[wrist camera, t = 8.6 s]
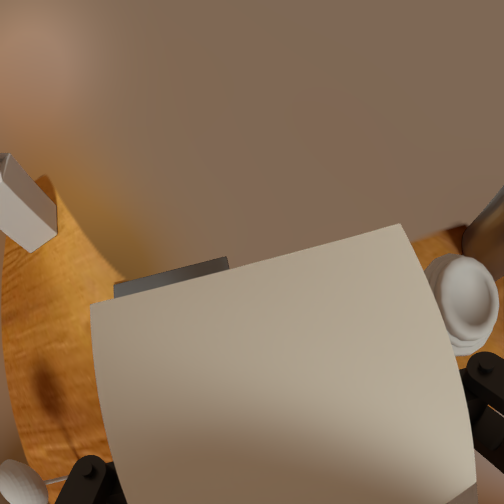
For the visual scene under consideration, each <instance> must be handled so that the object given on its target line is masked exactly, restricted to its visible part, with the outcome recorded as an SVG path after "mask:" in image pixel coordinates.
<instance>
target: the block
mask: <svg viewBox="0 0 504 504" xmlns="http://www.w3.org/2000/svg"><path fill="white" fill-rule="evenodd" d="M90 317H91V335H92V348H93V358H94V367H95V375H96V382H97V389H98V395H99V401H100V406H101V412H102V417H103V422H104V426H105V431H106V435H107V439H108V443H109V447H110V451H111V454H112V458H113V462H114V465H115V468H116V472H117V475H118V478H119V481H120V484H121V487H122V490H123V492H124V495H125V498H126V501H127V503H128V504H446V503H448V502H449V501H451V500H452V499H454V498H455V497H457V496H458V495H460V494H461V493H462V492H464V491H465V490H466V489H468V488H469V487H470V486H472V485H473V484H474V483H476V468H475V456H474V446H473V438H472V431H471V425H470V419H469V413H468V408H467V403H466V398H465V393H464V389H463V385H462V381H461V377H460V373H459V369H458V365H457V362H456V358H455V355H454V352H453V348H452V345H451V342H450V339H449V336H448V333H447V330H446V327H445V324H444V321H443V318H442V316H441V313H440V310H439V308H438V305H437V302H436V300H435V297H434V295H433V292H432V290H431V288H430V285H429V283H428V280H427V278H426V276H425V274H424V271H423V269H422V267H421V265H420V263H419V260H418V258H417V256H416V254H415V252H414V250H413V248H412V246H411V244H410V242H409V240H408V238H407V236H406V234H405V232H404V230H403V228H402V226H401V224H400V223H399V224H396V225H392V226H388V227H385V228H381V229H378V230H374V231H370V232H367V233H363V234H360V235H356V236H353V237H349V238H345V239H342V240H338V241H334V242H331V243H327V244H323V245H319V246H316V247H312V248H308V249H305V250H301V251H297V252H293V253H290V254H286V255H282V256H278V257H275V258H271V259H267V260H264V261H259V262H256V263H252V264H248V265H244V266H240V267H237V268H233V269H229V270H225V271H221V272H217V273H213V274H210V275H206V276H202V277H198V278H194V279H190V280H186V281H182V282H178V283H174V284H170V285H167V286H163V287H159V288H155V289H151V290H147V291H143V292H139V293H135V294H131V295H127V296H123V297H118V298H114V299H110V300H106V301H102V302H98V303H94V304H90Z"/></svg>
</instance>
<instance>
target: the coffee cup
mask: <svg viewBox="0 0 504 504" xmlns="http://www.w3.org/2000/svg"><path fill="white" fill-rule="evenodd" d="M424 274H425V276H426V278H427V280H428V283H429V285H430V288H431V290H432V292H433V295H434V297H435V300H436V302H437V305H438V308H439V310H440V313H441V316H442V318H443V321H444V324H445V327H446V330H447V333H448V336H449V339H450V342H451V345H452V348H453V352H454V355H455V356H467V355H470V354H472V353H473V352H475V351H476V350H478V349H479V348H481V347H482V346H483V345H484V344H485V342H486V340H487V339H488V337H489V335H490V334H491V332H492V330H493V326H494V324H495V322H496V320H497V315H498V309H499V299H498V290H497V287H496V285H495V282H494V280H493V277H492V275H491V274H490V273H489V271H488V270H487V269H486V267H485V266H484V265H483V264H482V263H480V262H479V261H477V260H475V259H474V258H472V257H465V256H464V255H457V254H450V253H449V254H446V255H443V256H441V257H438V258H436V259H434V260H433V261H432V262H431V263H430V265H429V266H428V267H427V268H426V269H425V271H424Z"/></svg>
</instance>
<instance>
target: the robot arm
mask: <svg viewBox="0 0 504 504" xmlns="http://www.w3.org/2000/svg"><path fill="white" fill-rule="evenodd" d="M462 249H463V253H464V256H465V257H472V258H474V259H475V260H477V261H479V262H480V263H482V264H483V265H484V266H485V267H486V269H487V270H488V271H489V273H490V274H491V275H492V277H493V280H494V282H495V281H497V280H498V279H500V278H501V277H503V276H504V186H503V187H502V188H501V189H500V191H499V192H498V193H497V194H496V196H495V197H494V198H493V199H492V200H491V202H490V203H489V204H488V205H487V207H486V208H485V209H484V210H483V211H482V212H481V213H480V215H479V216H478V217H477V218H476V219H475V220H474V221H473V222H472V224H471V225H470V226H469V227H468V228H467V229H466V230H465V232H464V234H463V237H462ZM459 373H460V377H461V381H462V385H463V389H464V393H465V398H466V403H467V408H468V413H469V419H470V425H471V431H472V438H473V446H474V449H475V450H476V451H478V452H479V453H480V454H481V455H482V456H483V457H485V458H486V459H487V460H488V461H489V462H490V463H492V464H493V465H494V466H495V467H496V468H498V469H499V470H500V471H501V472H502V473H503V474H504V418H503V417H502V416H501V415H499V414H498V413H497V412H495V411H494V410H493V409H491V408H490V407H489V406H488V404H489V405H490V406H491V407H493V408H494V409H495V410H497V411H498V412H500V413H501V414H502V415H504V359H503V358H501V357H499V356H498V355H496V354H494V353H491V352H479V353H476V354H474V355H473V356H472V357H471V358H470V359H469V361H468V363H467V366H466V368H464V369H460V370H459ZM55 504H128V503H127V501H126V498H125V495H124V492H123V490H122V487H121V484H120V481H119V478H118V475H117V472H116V468H115V465H114V462H109V463H105V462H104V461H103V460H102V459H101V458H100V457H98V456H95V455H87V456H84V457H82V458H80V459H79V460H78V461H77V462H76V463H75V465H74V466H73V468H72V470H71V472H70V474H69V476H68V478H67V480H66V482H65V484H64V486H63V488H62V490H61V492H60V494H59V496H58V498H57V500H56V502H55ZM446 504H478V497H477V484H476V483H474V484H473V485H472V486H470V487H469V488H468V489H466V490H465V491H464V492H462V493H461V494H460V495H458V496H457V497H455V498H454V499H452V500H451V501H449V502H448V503H446Z"/></svg>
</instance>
